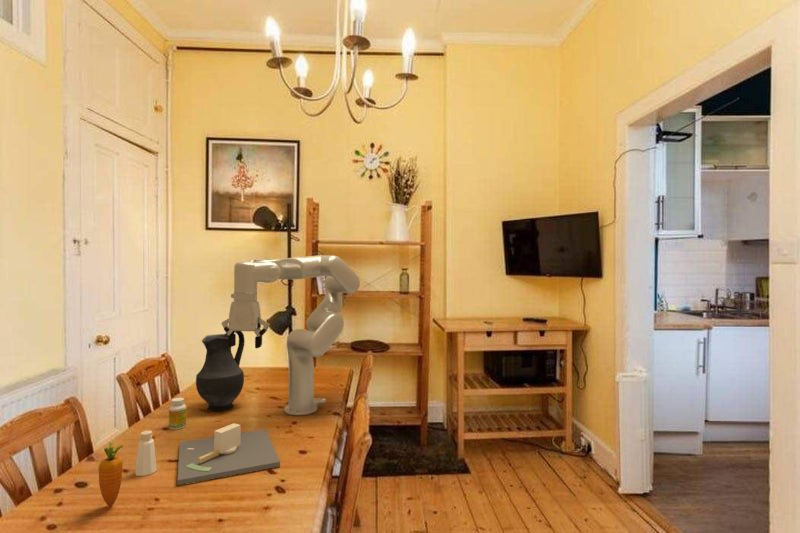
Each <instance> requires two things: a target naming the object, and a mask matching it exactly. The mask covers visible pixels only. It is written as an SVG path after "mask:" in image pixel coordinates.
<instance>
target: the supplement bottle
mask: <svg viewBox="0 0 800 533" xmlns="http://www.w3.org/2000/svg"><path fill="white" fill-rule="evenodd" d="M170 402H171V405H170V406H169V408H168V429H170V430H172V431H173V430H174V431H175V430H181V428H182V429H184V428H185V427H186V426H187V405H186V404H185V398H184V397H174V398H172V399H171V401H170Z"/></svg>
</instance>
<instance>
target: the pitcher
mask: <svg viewBox="0 0 800 533" xmlns="http://www.w3.org/2000/svg"><path fill="white" fill-rule="evenodd" d="M234 334H236V335H238V345H237V349H236V353H235V355H233V353H232V347H229V343H228V335H227V333H226V332H225V333H219V334H206V335H205V336H204V337H203V338H202V339H201V342H202V343H203V345H204V347H205V349H206V353H205V354H206V355H205V359H204V360H205V361H204V363H203V366H202V368H201V369H200V371H199V372H198V373H197V374H196V376H195V386H196V390H197V393H198V395H199V397H201V399H202V400H204V401H205V402H206V403H207V404H208V406H207V408H206V410H207V411H208V412H211V413H221V412H222V413H223V412H226V411H229V410H232V409H233V408H235V405H234V404H233V402H235V400H236V399H237V398H238V397H239V396H240V394H241V392H242V391H243V390H242V389H244V384H245V382H244V381H245V374H244V371H243V369H242V368H241V367H240V363H241V359H242V356H243V352H244V347H245V341H246V339H245V335H244V333H243V331H236V332H235V333H234Z"/></svg>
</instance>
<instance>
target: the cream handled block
mask: <svg viewBox="0 0 800 533" xmlns="http://www.w3.org/2000/svg"><path fill="white" fill-rule="evenodd" d="M241 426H242V425H241V424H238V423H235V422H233V423H231V424H228V425H225V426H224V427H221V428H217V429H216V430H214V431H213V432H214V433H213V435H214V436H213V437H214V451H213V452H210V453H208V454H206V455H204V456H201V457H199V458H198V462H199V463H203V462H205V461H207V460H209V459H211V458H213V457H216V456H218V455H219V453H220V454H231V453H233V452H235V451H236V447H237V446H239V445H240V444H241V433H242V432H241V430H242V429H241Z"/></svg>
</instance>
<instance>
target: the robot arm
mask: <svg viewBox="0 0 800 533" xmlns="http://www.w3.org/2000/svg"><path fill="white" fill-rule="evenodd" d="M233 270H234V272H233V277H234V278H233V279H234V281H233V285H234V286H233V293H231V294H230V298H232V299H233V301H231V304H230V307H229V313H228V318H227V319H226V320H223V321H222V322H221V325H222V328H223V330H224V331H225V333H227V335H228V343H229V347H231V348H232V347H235V346H236V343H237V342H236V339H237V337H236V335H237V334H236V333H235V332H236V331H241V332H253V333H254V335H256V336H255V337H254V348H255V349H260V348H261V347H262V345H263V336H264V335H265V333H266V332H268V329H269V327H270V323H269V322H268V321H266V320H265V319H262V314H261V307H260V302H259V301H258V283H266V284H267V283H268V284H269V283H274V282H277V281H278V280H303V279H304V280H305V279H311V278H319V277H325V279H324V289H325V290H324V292H325V294H324V298H323V300H322V301H321V302H320V303H319V304H318V305H317V307H316V308H314V310H313V311H312V312H311V313H310V315H309V316H308V318H307V320H306V328H307V329H305V328H296V329H294V330H292V331H290V333H289V334H288V336H287V339H286V349H287V355H288V404H287V405H285V406H284V408H283V409H284V412H285V414H288V415H290V416H306V415H311V414H313V413H315V412H317V411H318V405H323V404H326V403H327V401H326V400H327V399H326V398H321V397H315V396H314V394H315V393H314V390H315V389H314V388H315V386H314V384H315V383H314V382H315V362H314V358H319V357H321V356H323V355H324V354H325V353H326V352H327V351H328V350H329V349H330V348H331V347H332V345H333V344H334V342H336V340H337V339H338V337H339V336H340V334H341V333H342V331H343V329H344V326H345V325H344V324H345V323H344V322H345V320H344V318H343V316H342V314H340V312H341V310H342V309H343V296H342V294H348V295H349V294H354V293H356V292H357V291H358V290H359V289H360V285H361V280H360V278H359V276H358V274H357V273H356V272H355V271H354V270H353V269H352V268H351V267H350V265H348V264H347V263H346V262H345V261H344V260H343V259H342V258H340V256H338V255H333V254H332V255H327V254H326V255H325V254H323V255H311V256H309V255H308V256H297V257H287V258H278V259H269V260H267V259H266V260H258V261H257V260H256V261H255V260H254V261H252V262H251V261H250V262H249V261H239V262H236V263H235V264H234V269H233ZM262 326H263V327H262ZM261 327H262V329H261Z"/></svg>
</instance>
